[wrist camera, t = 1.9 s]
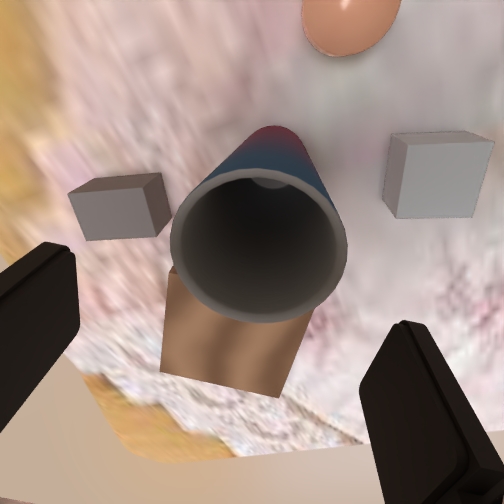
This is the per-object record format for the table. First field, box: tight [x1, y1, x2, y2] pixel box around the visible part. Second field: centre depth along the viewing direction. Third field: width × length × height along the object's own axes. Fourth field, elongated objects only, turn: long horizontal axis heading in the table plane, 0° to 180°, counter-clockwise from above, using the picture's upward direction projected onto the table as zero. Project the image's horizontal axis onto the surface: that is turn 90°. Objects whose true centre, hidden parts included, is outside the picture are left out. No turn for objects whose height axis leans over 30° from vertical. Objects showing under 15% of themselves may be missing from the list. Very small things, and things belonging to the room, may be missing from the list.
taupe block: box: [68, 173, 172, 241], centre depth 27 cm, size 6×4×4 cm, turn 96°
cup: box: [170, 126, 348, 323], centre depth 19 cm, size 7×7×15 cm
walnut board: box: [160, 266, 314, 398], centre depth 35 cm, size 14×14×1 cm
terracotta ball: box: [302, 0, 401, 57], centre depth 19 cm, size 5×5×4 cm
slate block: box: [382, 131, 494, 219], centre depth 23 cm, size 5×5×4 cm
